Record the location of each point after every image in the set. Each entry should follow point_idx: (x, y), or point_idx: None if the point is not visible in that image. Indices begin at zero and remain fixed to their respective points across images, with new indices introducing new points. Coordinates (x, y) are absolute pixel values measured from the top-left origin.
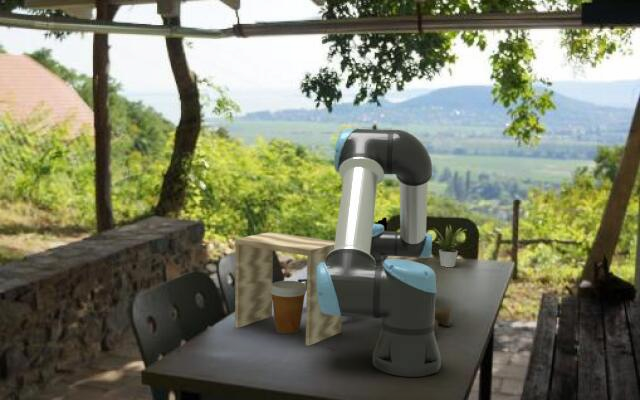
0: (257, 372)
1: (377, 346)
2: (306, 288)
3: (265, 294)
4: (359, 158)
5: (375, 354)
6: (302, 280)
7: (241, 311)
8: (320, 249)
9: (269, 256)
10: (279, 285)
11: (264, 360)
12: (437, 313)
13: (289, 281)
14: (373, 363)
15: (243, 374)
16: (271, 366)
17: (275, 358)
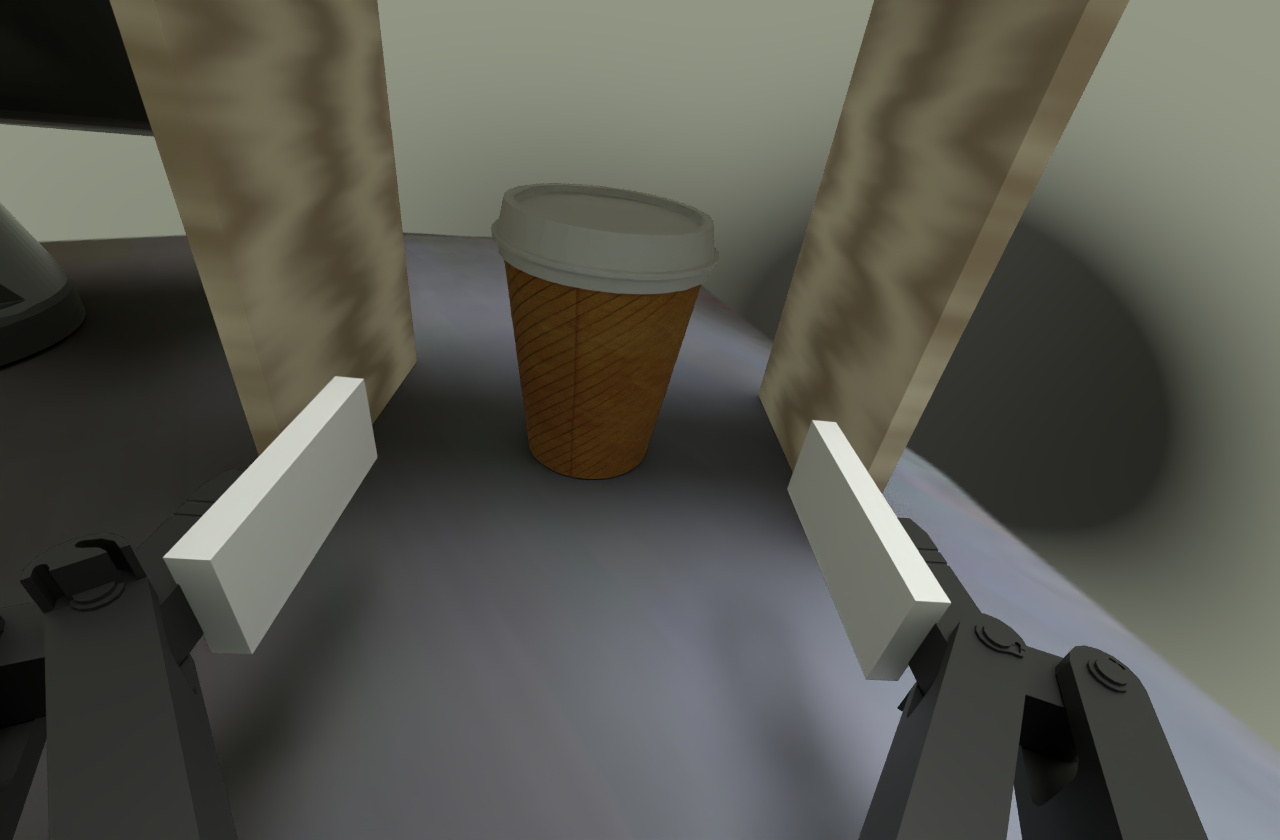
0: (457, 258)
1: (32, 238)
2: (910, 701)
3: (857, 390)
4: None
5: (58, 263)
6: (1072, 682)
7: (780, 347)
8: None
9: (1003, 111)
10: (656, 214)
11: (481, 286)
12: None
13: (668, 234)
14: (82, 303)
15: (480, 252)
16: (443, 273)
17: (460, 295)
